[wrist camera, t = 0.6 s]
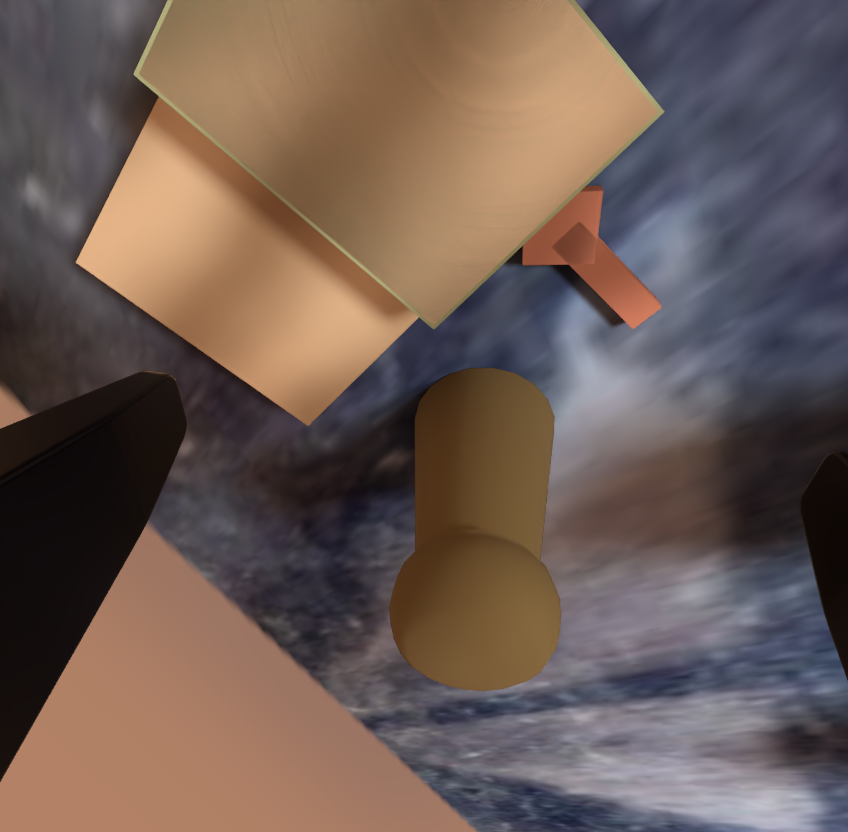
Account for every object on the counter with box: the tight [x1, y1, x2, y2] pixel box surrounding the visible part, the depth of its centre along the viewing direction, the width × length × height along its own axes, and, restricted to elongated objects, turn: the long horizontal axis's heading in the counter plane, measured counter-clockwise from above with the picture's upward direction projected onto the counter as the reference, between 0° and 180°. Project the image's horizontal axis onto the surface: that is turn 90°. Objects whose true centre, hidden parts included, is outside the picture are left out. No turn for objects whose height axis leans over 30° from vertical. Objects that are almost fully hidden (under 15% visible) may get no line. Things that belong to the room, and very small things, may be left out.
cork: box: [389, 368, 561, 691], centre depth 21 cm, size 6×6×11 cm
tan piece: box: [76, 0, 664, 426], centre depth 19 cm, size 16×16×4 cm
